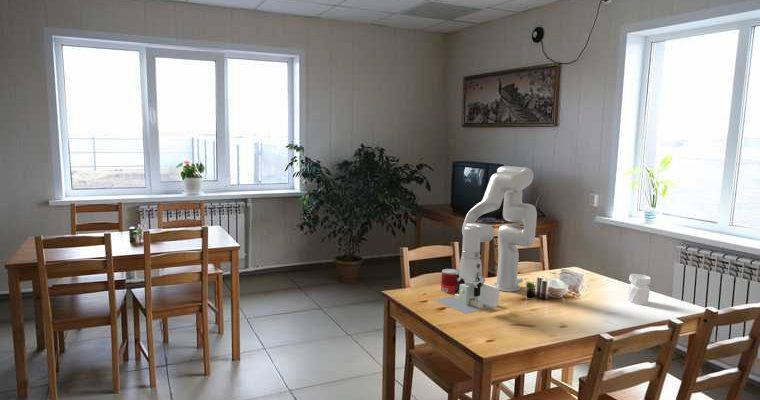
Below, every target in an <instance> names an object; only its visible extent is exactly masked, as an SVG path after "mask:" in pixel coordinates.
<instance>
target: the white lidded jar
mask: <svg viewBox="0 0 760 400" xmlns="http://www.w3.org/2000/svg"><path fill="white" fill-rule="evenodd" d="M651 280H652V279H651V277H650V276H648V275H645V274H639V273H630V274H629V278H628V281H629V282H630V284H628V289H627V302H628V301H630V302H631V303H630V302H629V303H630V304H633V303H634V304H635V305H638V306H639V305H640V306H646V305H648V304H649V298H650V297H649V296H650V290H651V289H650V287H649V285H650V284H651ZM634 304H633V305H634Z"/></svg>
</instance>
